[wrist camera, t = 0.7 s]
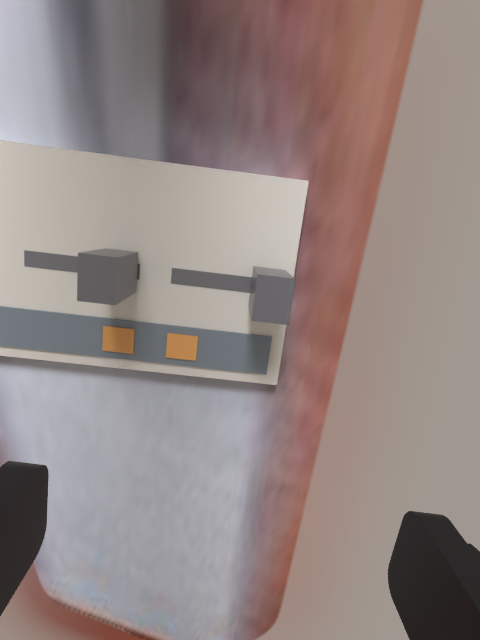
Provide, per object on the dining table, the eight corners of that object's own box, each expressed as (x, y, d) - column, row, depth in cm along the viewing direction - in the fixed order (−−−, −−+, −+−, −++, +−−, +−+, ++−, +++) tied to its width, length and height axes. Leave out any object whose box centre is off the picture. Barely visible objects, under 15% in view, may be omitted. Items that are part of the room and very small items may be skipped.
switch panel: (-135, 125, 27) (-157, 119, 25) (305, 182, 28) (309, 180, 26) (-112, 337, 30) (-130, 343, 29) (275, 379, 32) (277, 386, 30)
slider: (253, 266, 28) (257, 274, 23) (285, 269, 28) (295, 278, 23) (248, 304, 29) (251, 320, 24) (279, 308, 29) (288, 324, 24)
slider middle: (105, 248, 27) (77, 252, 22) (138, 252, 27) (117, 257, 23) (104, 288, 28) (77, 300, 23) (136, 292, 28) (115, 305, 23)
